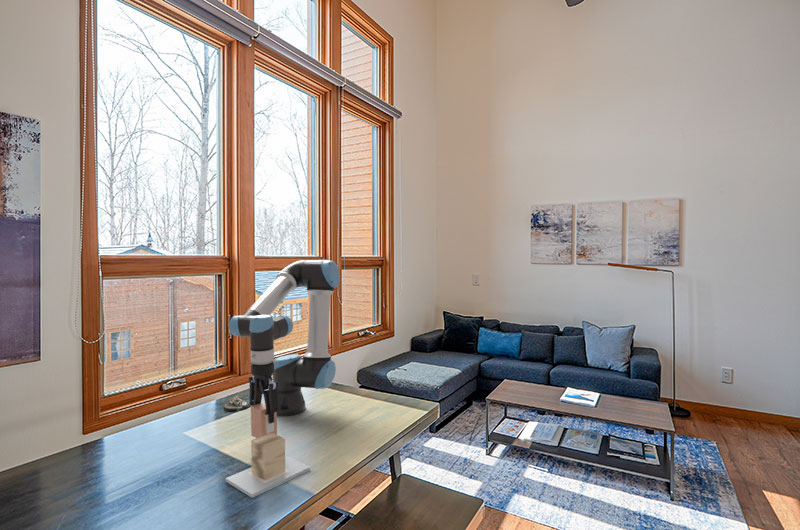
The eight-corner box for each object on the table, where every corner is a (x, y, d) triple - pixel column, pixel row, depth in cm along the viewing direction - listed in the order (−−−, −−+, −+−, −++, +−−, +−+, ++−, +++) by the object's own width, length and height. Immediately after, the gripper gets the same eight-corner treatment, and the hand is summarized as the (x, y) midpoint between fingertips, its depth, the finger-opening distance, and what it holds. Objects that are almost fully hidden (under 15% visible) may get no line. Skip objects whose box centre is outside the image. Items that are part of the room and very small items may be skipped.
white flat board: (225, 481, 129) (225, 477, 129) (282, 457, 144) (282, 453, 144) (252, 498, 120) (252, 494, 120) (310, 470, 135) (310, 466, 135)
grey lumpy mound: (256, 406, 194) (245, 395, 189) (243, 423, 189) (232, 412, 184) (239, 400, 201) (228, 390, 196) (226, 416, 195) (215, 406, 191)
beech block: (251, 472, 132) (251, 439, 131) (271, 464, 137) (271, 432, 137) (265, 480, 127) (264, 446, 127) (285, 471, 133) (285, 438, 132)
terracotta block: (251, 435, 148) (250, 406, 147) (266, 429, 152) (266, 401, 152) (261, 440, 144) (260, 410, 144) (277, 434, 149) (276, 405, 148)
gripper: (237, 359, 150) (238, 425, 151) (269, 368, 138) (270, 440, 139) (256, 355, 156) (258, 419, 157) (289, 363, 144) (290, 433, 145)
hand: (264, 429), depth 148 cm, fingers closed on terracotta block, 6 cm apart
